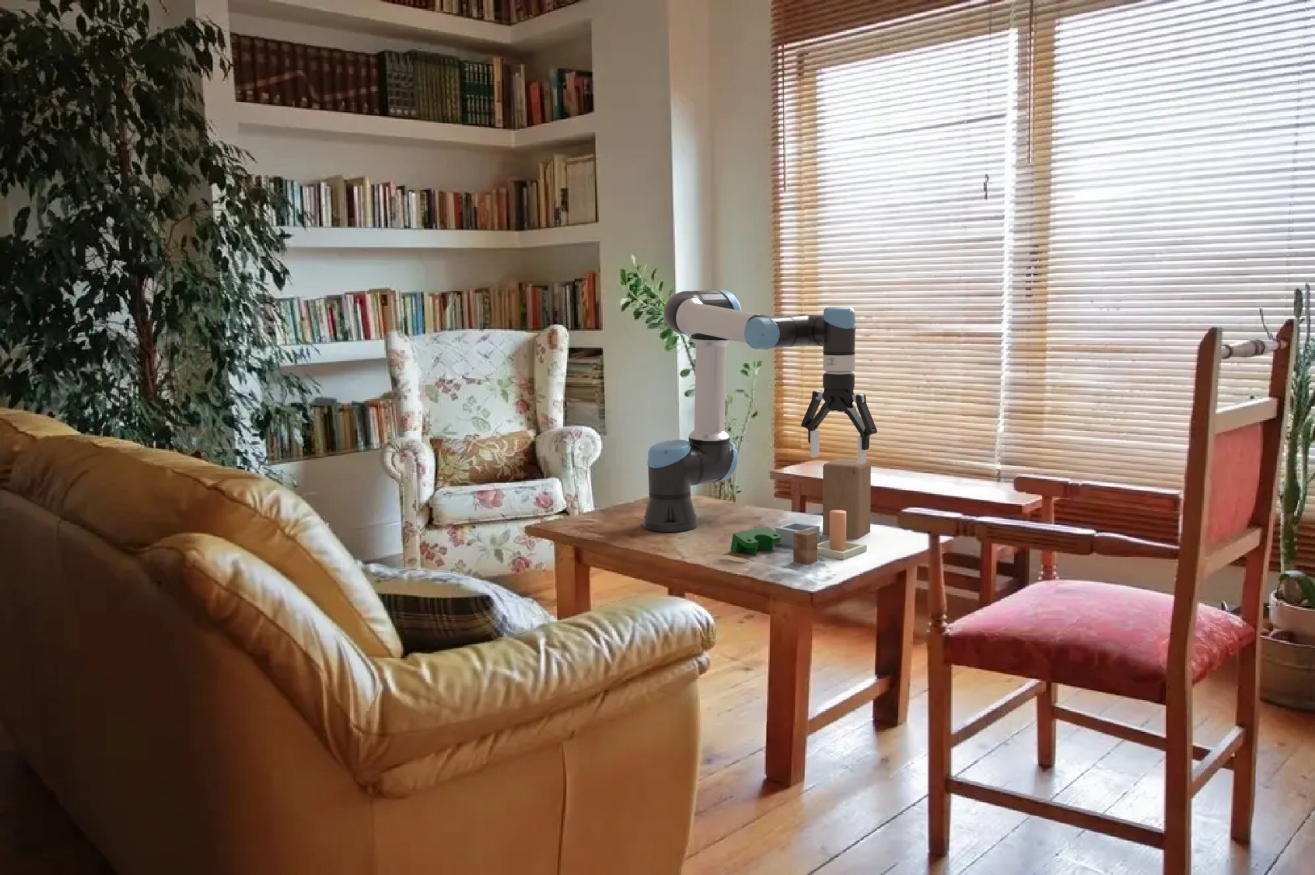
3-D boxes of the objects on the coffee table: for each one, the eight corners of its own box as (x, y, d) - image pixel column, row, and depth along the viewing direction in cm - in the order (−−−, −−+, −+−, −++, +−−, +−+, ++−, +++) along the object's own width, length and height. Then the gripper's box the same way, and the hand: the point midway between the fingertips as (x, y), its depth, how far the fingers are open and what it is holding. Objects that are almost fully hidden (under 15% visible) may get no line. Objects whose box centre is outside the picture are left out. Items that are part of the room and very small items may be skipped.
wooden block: (857, 543, 264) (858, 466, 261) (821, 538, 270) (821, 463, 267) (871, 534, 273) (872, 460, 270) (836, 530, 278) (836, 457, 275)
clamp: (748, 575, 253) (742, 547, 248) (734, 564, 258) (727, 536, 253) (786, 551, 258) (780, 523, 253) (771, 540, 262) (765, 513, 257)
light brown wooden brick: (793, 565, 245) (793, 532, 244) (803, 562, 248) (803, 529, 247) (807, 568, 242) (807, 535, 241) (817, 565, 245) (817, 532, 244)
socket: (775, 546, 263) (775, 527, 262) (794, 540, 268) (794, 521, 267) (800, 552, 257) (800, 532, 256) (819, 545, 263) (819, 526, 262)
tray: (809, 556, 253) (809, 546, 252) (832, 548, 260) (832, 538, 260) (843, 563, 246) (843, 553, 246) (866, 554, 253) (866, 545, 253)
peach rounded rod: (826, 552, 253) (826, 512, 251) (835, 548, 256) (835, 509, 254) (840, 554, 250) (840, 514, 248) (849, 551, 253) (849, 511, 251)
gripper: (787, 370, 252) (787, 456, 255) (875, 376, 235) (873, 468, 238) (805, 368, 257) (805, 452, 261) (892, 373, 240) (891, 463, 243)
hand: (837, 460), depth 249 cm, fingers open, 13 cm apart
